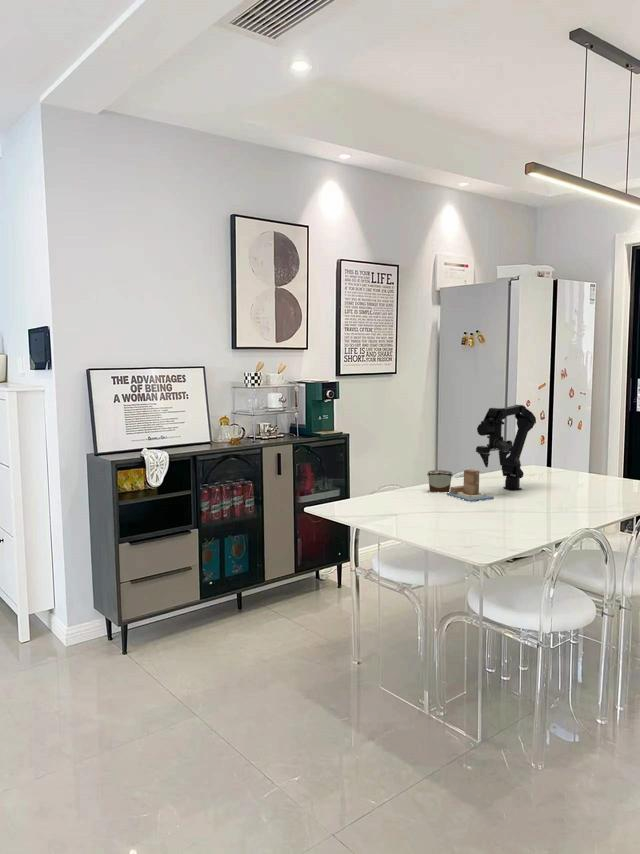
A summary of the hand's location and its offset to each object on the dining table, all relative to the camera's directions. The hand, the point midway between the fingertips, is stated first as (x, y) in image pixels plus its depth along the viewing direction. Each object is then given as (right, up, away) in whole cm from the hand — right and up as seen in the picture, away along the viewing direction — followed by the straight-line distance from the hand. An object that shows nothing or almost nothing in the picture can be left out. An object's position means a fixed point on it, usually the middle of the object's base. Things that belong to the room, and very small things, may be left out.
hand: (494, 466), depth 329 cm
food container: (-26, -13, +5) cm, 29 cm away
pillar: (-13, -13, -10) cm, 21 cm away
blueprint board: (-13, -14, -8) cm, 21 cm away
